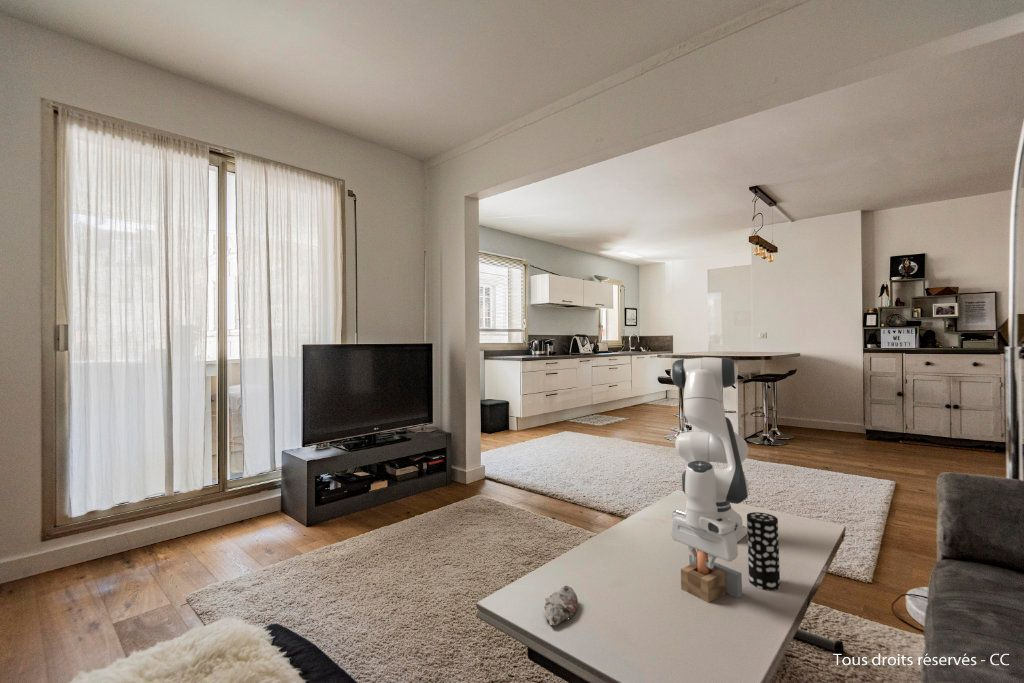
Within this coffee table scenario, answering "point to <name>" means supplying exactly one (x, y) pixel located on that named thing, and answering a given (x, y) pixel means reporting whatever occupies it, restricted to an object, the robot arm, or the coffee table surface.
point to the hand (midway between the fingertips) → (702, 564)
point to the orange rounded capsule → (702, 562)
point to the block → (703, 582)
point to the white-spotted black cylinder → (763, 551)
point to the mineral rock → (560, 605)
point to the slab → (729, 579)
